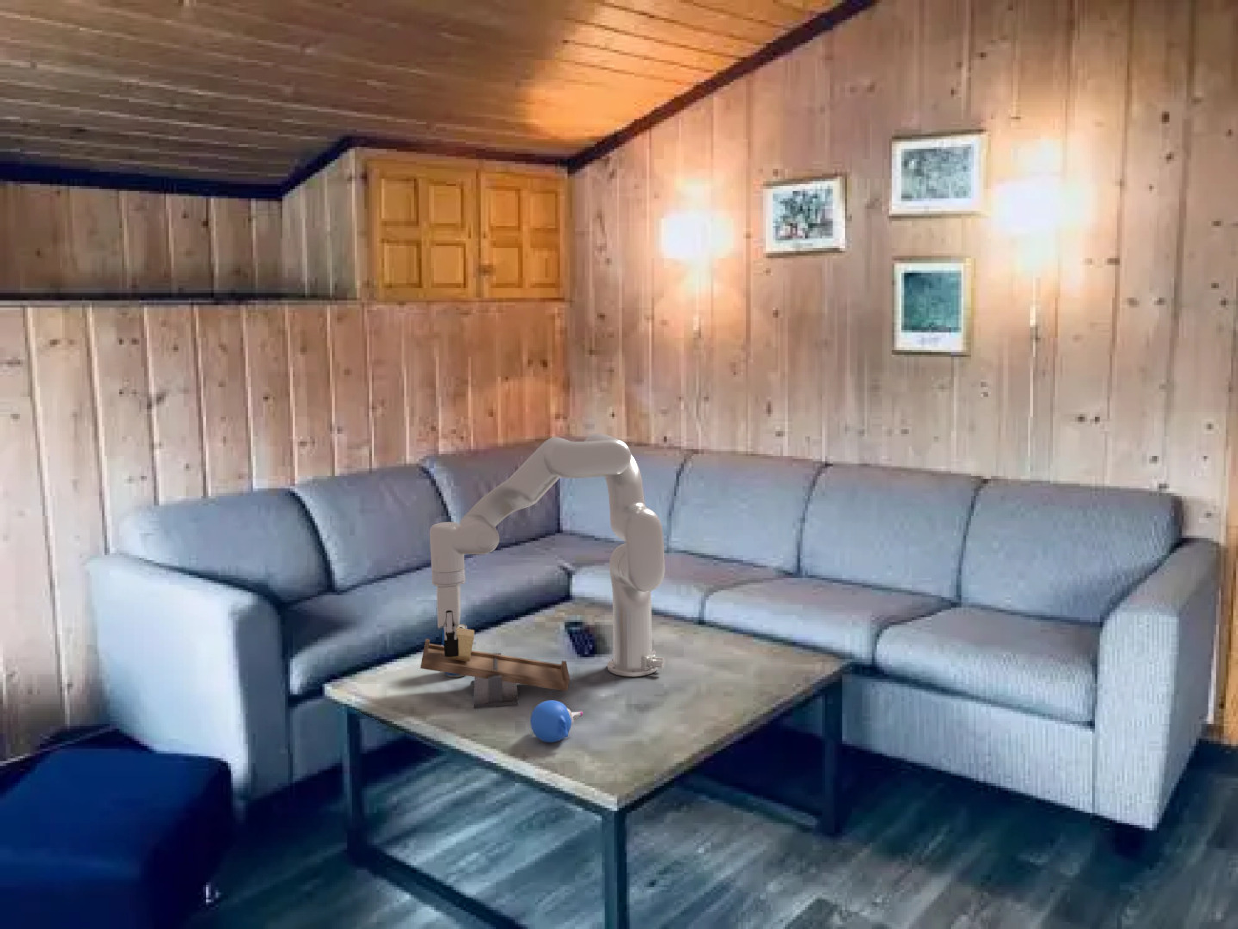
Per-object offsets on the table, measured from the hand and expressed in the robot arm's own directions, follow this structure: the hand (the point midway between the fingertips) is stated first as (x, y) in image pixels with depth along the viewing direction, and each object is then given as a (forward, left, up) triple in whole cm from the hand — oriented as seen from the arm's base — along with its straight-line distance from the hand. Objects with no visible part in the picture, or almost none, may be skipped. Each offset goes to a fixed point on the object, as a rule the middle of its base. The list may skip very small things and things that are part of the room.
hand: (452, 651), depth 246 cm
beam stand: (-8, -6, -11) cm, 14 cm away
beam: (-8, -6, -5) cm, 11 cm away
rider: (-1, -1, -1) cm, 2 cm away
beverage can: (+8, -12, -11) cm, 18 cm away
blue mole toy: (-35, +9, -11) cm, 38 cm away
